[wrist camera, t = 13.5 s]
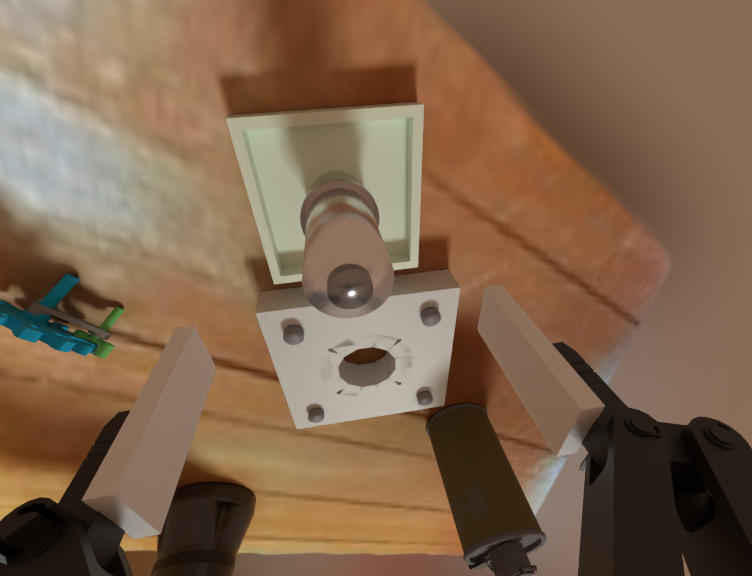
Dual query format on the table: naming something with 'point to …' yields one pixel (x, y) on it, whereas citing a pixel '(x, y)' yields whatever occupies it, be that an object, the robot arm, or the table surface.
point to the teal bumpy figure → (37, 325)
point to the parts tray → (330, 154)
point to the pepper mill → (343, 248)
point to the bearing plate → (345, 335)
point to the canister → (483, 492)
